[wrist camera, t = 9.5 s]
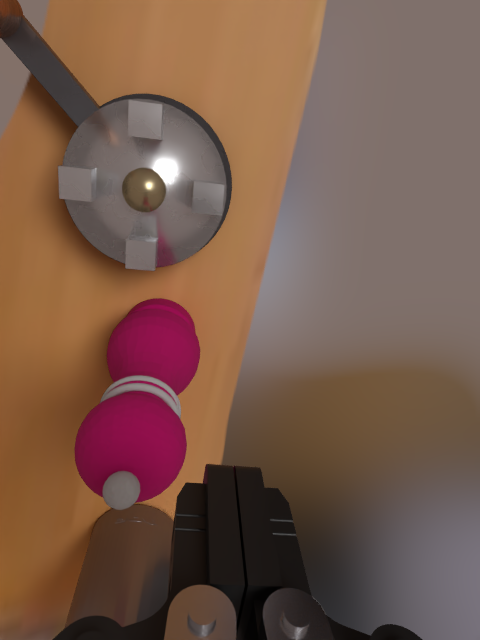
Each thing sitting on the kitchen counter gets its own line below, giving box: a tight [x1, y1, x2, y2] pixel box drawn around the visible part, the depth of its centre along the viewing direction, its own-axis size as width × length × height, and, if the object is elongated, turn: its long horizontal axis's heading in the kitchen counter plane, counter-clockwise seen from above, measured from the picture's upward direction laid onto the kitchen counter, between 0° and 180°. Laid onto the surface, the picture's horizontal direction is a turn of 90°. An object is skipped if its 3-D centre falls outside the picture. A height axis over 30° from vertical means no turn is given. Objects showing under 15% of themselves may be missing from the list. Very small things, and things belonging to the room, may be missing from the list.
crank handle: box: [0, 0, 227, 271], centre depth 28 cm, size 20×11×6 cm, turn 38°
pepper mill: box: [75, 299, 200, 510], centre depth 30 cm, size 7×7×20 cm
